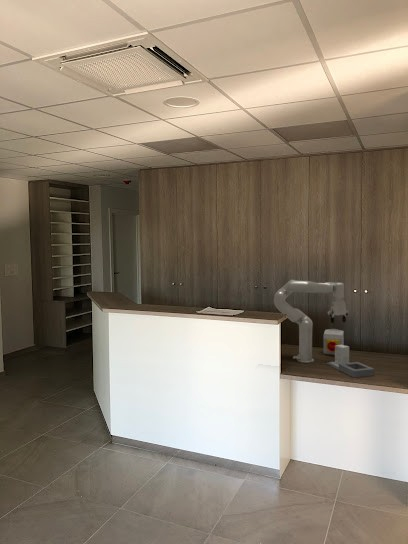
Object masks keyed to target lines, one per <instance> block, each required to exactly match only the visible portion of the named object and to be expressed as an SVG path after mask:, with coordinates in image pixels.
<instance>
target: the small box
mask: <svg viewBox="0 0 408 544" xmlns="http://www.w3.org/2000/svg"><path fill="white" fill-rule="evenodd" d="M334 362H335V363H337V364H343V363H350V346H348V345H346V344H345V345H335V355H334Z"/></svg>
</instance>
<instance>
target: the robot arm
mask: <svg viewBox="0 0 408 544" xmlns="http://www.w3.org/2000/svg"><path fill="white" fill-rule="evenodd" d="M292 293H312V294H313V293H315V294H330V293H332V296H333V297H332V298H331V301H332V302H331V307H330V309H329V310H328V311H327V315H328V316H329V317H330V323H332V324H334V323H335V318H334V317H335V316H342V323H346V320H347V317H348V315H349V312H350V310H348V309H347V306H346V305H347V304H346V301H345V284H344V283H343V282H332V281H331V282H330V281H326V282H324V283H323V282H315V281H312V280H296V279H289V281H287V282H286V283H285V284H284V285H283V286H282V287H281V288H280V289H278V290H277V291H276V292H275V294H274V296H273V297H274V298H273V303H274V306H275V308H276V309H278V311H279V312H280V313H282V315H284V314H287V317H286V318H287V319H288V320H290V321H291V322H292V323H296V324H297V325H298V331H299V332H298V339H299V340H298V342H299V343H298V345H299V346H298V352H299V353H298V354H297V355H294V356H293V357H292V359H294V360H295V359H296V361H297V362H299V363H306V364H307V363H309V364H310V363H314V362H315V358H313V325H314V324H313V321H312V319H311V318H310V317H309V316H308V315H306V314H305V313H304V312H303V311H302V310H300V309H299V308H294V307H293V306H292V305H291V304H290V303H288V302H287V301H286V299H287V298H288V297H289V296H291V295H292Z"/></svg>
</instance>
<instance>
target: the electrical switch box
mask: <svg viewBox="0 0 408 544" xmlns="http://www.w3.org/2000/svg"><path fill="white" fill-rule="evenodd" d="M344 333H345V331H344V330H340V329H336V328H330V329H325V330H324V333H323V354H324V355H332V356H335V345H344V340H345V339H344V337H345V336H344V335H345V334H344Z"/></svg>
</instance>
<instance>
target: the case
mask: <svg viewBox="0 0 408 544" xmlns="http://www.w3.org/2000/svg"><path fill="white" fill-rule="evenodd" d="M325 365H328V366H329V367H331V368H334V369H335V370H337V371H339V372H342V373H343V372H344V373H343V374H345V373H346V374H345V375H347V374H348V375H347V376H349V375H350V376H349V377H351V376H352V378H353V377H354V378H355V377H356V378H365V377H375V373H376V372H375V371H376V370H375V368H373V367H371V366H368V365H366V364H364V363H361V362H360V361H355V362H354V361H353V362H349V363H343V364H337V363H335V361H329V362H327V361H326V364H325ZM354 378H353V379H354Z"/></svg>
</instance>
